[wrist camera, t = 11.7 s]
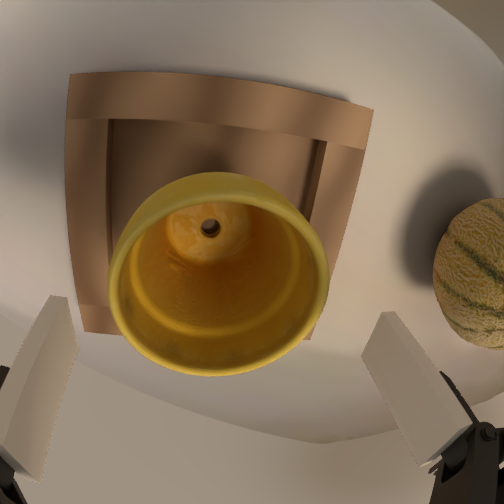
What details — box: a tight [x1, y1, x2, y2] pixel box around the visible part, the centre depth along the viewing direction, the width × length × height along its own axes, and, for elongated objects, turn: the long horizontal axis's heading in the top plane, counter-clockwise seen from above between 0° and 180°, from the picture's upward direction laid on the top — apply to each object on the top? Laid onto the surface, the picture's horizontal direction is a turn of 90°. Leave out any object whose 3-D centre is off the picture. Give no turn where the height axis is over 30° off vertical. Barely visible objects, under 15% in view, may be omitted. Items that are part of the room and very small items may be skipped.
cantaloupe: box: [433, 198, 504, 350], centre depth 23 cm, size 15×15×15 cm
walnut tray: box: [65, 72, 374, 340], centre depth 22 cm, size 20×20×3 cm
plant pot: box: [107, 172, 330, 376], centre depth 18 cm, size 10×10×10 cm
